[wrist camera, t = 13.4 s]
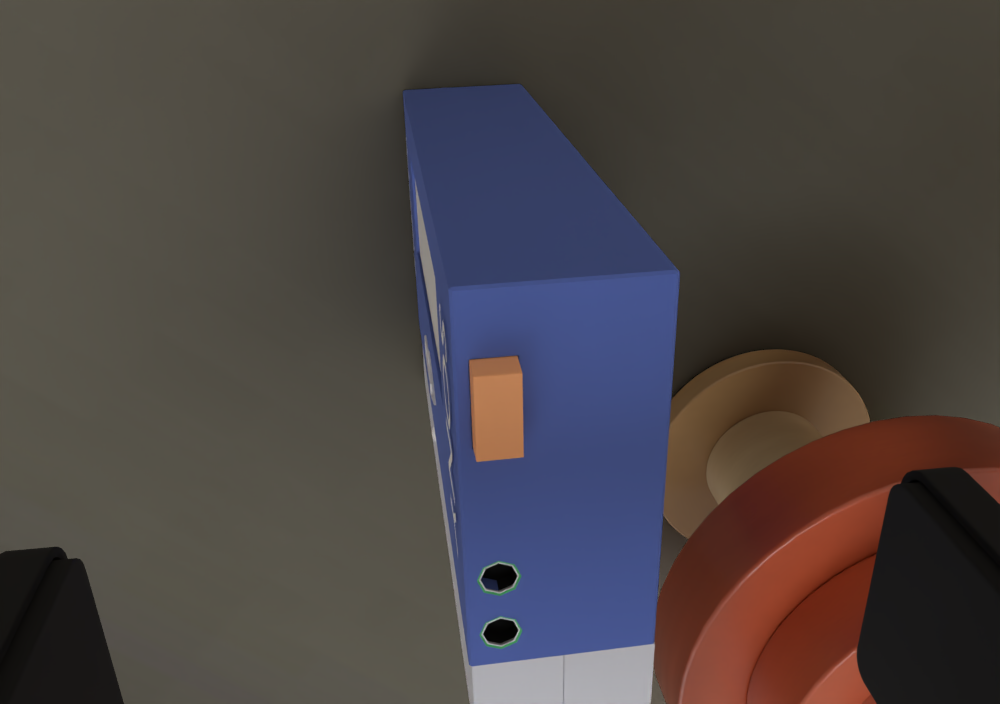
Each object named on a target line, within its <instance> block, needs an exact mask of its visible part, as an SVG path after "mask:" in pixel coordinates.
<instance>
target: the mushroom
mask: <svg viewBox="0 0 1000 704" xmlns="http://www.w3.org/2000/svg"><path fill="white" fill-rule="evenodd" d="M945 467H958V468H962V469H963V470H964V471H966V472H967V473H968V474H969V475H970V476H971V477H972V478H973V479H974V480H975V481H977V482H978V483H979V484H980V485H981V486H982V487H983V488H984V489H985V490H986V491H987V492H988V493H989V494H990V495H991V496H992V497H993V498H994V499H995V500H996V501H997V502H998V503H999V504H1000V427H997V426H995V425H992V424H988V423H984V422H980V421H975V420H971V419H967V418H960V417H949V416H938V415H927V416H904V417H898V418H891V419H885V420H878V421H873V422H870V419H869V414H868V411H867V409H866V406H865V403H864V402H863V400H862V398H861V397H860V395H859V393H858V392H857V391H856V390H855V388H854V387H853V386H852V385H851V384H850V383H849V382H848V381H847V380H846V379H845V378H844V377H843V376H842V375H841V374H840V373H839V372H838V371H837V370H836V369H834V368H833V367H832V366H831V365H829V364H828V363H826V362H824V361H823V360H821V359H819V358H816V357H814V356H811V355H809V354H806V353H802V352H797V351H792V350H782V349H770V350H759V351H752V352H748V353H744V354H740V355H737V356H734V357H731V358H729V359H726V360H724V361H721V362H719V363H717V364H715V365H713V366H712V367H710V368H708V369H706V370H705V371H703V372H702V373H700V374H699V375H697V376H696V377H694V378H693V379H692V380H691V381H690V382H688V383H687V384H686V385H685V386H684V387H683V388H682V389H681V390H680V391H679V392H678V393H677V394H676V395H675V396H674V397H673V398H672V399H671V410H670V425H669V439H668V454H667V468H666V482H665V497H664V511H663V515H664V517H665V518H666V519H667V521H668V522H669V523H670V525H671V526H672V527H673V528H674V529H676V530H677V531H678V532H679V533H680V534H681V535H683V536H684V537H686V538H688V541H687V542H686V544H685V545H684V547H683V548H682V550H681V551H680V553H679V555H678V556H677V558H676V559H675V561H674V563H673V565H672V567H671V569H670V571H669V573H668V575H667V577H666V579H665V582H664V584H663V586H662V589H661V592H660V596H659V599H658V602H657V612H656V626H655V640H654V642H655V649H654V663H653V664H654V669H655V674H656V678H657V680H658V683H659V686H660V688H661V691H662V693H663V696H664V699H665V701H666V704H877V703H876V702H875V700H874V699H873V697H872V695H871V694H870V692H869V690H868V689H867V687H866V686H865V684H864V682H863V680H862V678H861V675H860V672H859V669H858V664H857V647H858V642H859V637H860V632H861V627H862V622H863V617H864V613H865V608H866V603H867V598H868V593H869V588H870V583H871V578H872V574H873V569H874V564H875V559H876V554H877V549H878V544H879V539H880V535H881V530H882V525H883V520H884V515H885V510H886V505H887V501H888V496H889V493H890V490H891V488H892V487H893V486H894V485H896V484H901V481H902V479H903V477H904V476H905V474H906V473H907V472H910V471H912V470H923V469H934V468H945Z"/></svg>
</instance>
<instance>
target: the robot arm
mask: <svg viewBox="0 0 1000 704" xmlns="http://www.w3.org/2000/svg"><path fill="white" fill-rule="evenodd" d="M857 664H858V669H859V672H860V675H861V678H862V680H863V682H864V684H865V686H866V687H867V689H868V690H869V692H870V694H871V695H872V697H873V699H874V700H875V702H876V703H877V704H1000V504H999V503H998V502H997V501H996V500H995V499H994V498H993V497H992V496H991V495H990V494H989V493H988V492H987V491H986V490H985V489H984V488H983V487H982V486H981V485H980V484H979V483H978V482H977V481H975V480H974V479H973V478H972V477H971V476H970V475H969V474H968V473H967V472H966V471H964V470H963V469H962V468H958V467H945V468H934V469H923V470H912V471H910V472H907V473H906V474H905V476H904V477H903V479H902V481H901V484H896V485H894V486H893V487H892V488H891V490H890V493H889V496H888V501H887V505H886V510H885V515H884V520H883V525H882V530H881V535H880V539H879V544H878V549H877V554H876V559H875V564H874V569H873V574H872V578H871V583H870V588H869V593H868V598H867V603H866V608H865V613H864V617H863V622H862V627H861V632H860V637H859V642H858V647H857ZM0 704H124V703H123V699H122V696H121V692H120V689H119V685H118V682H117V678H116V674H115V671H114V667H113V664H112V660H111V657H110V653H109V650H108V646H107V643H106V639H105V636H104V632H103V629H102V625H101V622H100V618H99V615H98V611H97V608H96V604H95V601H94V597H93V594H92V590H91V587H90V583H89V580H88V576H87V573H86V569H85V567H84V564H83V562H82V561H81V560H80V559H77V558H75V559H68V558H67V556H66V553H65V552H64V551H63V550H62V548H59V547H49V548H37V549H26V550H15V551H6V552H3V553H1V554H0Z"/></svg>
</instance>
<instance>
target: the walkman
mask: <svg viewBox="0 0 1000 704" xmlns="http://www.w3.org/2000/svg"><path fill="white" fill-rule="evenodd" d="M403 101H404V115H405V129H406V146H407V160H408V163H407V164H408V172H409V174H408V175H409V177H408V178H409V188H410V191H409V192H410V202H411V214H412V216H411V218H412V229H413V231H412V232H413V233H412V234H413V243H414V244H413V245H414V247H413V248H414V256H415V257H414V258H415V270H416V271H415V272H416V284H417V298H418V312H419V325H420V332H421V339H422V347H423V362H424V376H425V386H426V394H427V401H428V408H429V415H430V422H431V429H432V437H433V444H434V451H435V458H436V465H437V472H438V480H439V487H440V494H441V501H442V508H443V515H444V523H445V530H446V537H447V544H448V551H449V558H450V566H451V573H452V580H453V587H454V594H455V601H456V609H457V616H458V623H459V630H460V637H461V644H462V652H463V659H464V666H465V673H466V680H467V687H468V695H469V702H470V704H651V692H652V678H653V663H654V649H655V642H654V640H655V626H656V612H657V597H658V583H659V568H660V554H661V540H662V525H663V511H664V497H665V482H666V468H667V454H668V439H669V425H670V410H671V396H672V382H673V367H674V353H675V339H676V324H677V310H678V296H679V281H680V272H679V270H678V269H677V268H676V267H675V266H674V265H673V263H672V262H671V261H670V260H669V259H668V257H667V256H666V255H665V254H664V253H663V252H662V250H661V249H660V248H659V247H658V246H657V244H656V243H655V242H654V241H653V240H652V239H651V237H650V236H649V235H648V234H647V233H646V231H645V230H644V229H643V228H642V227H641V226H640V224H639V223H638V222H637V221H636V220H635V218H634V217H633V216H632V215H631V214H630V212H629V211H628V210H627V209H626V208H625V207H624V205H623V204H622V203H621V202H620V201H619V199H618V198H617V197H616V196H615V195H614V194H613V192H612V191H611V190H610V189H609V188H608V186H607V185H606V184H605V183H604V182H603V181H602V179H601V178H600V177H599V176H598V175H597V173H596V172H595V171H594V170H593V169H592V168H591V166H590V165H589V164H588V163H587V162H586V160H585V159H584V158H583V157H582V156H581V155H580V153H579V152H578V151H577V150H576V149H575V147H574V146H573V145H572V144H571V143H570V142H569V140H568V139H567V138H566V137H565V136H564V134H563V133H562V132H561V131H560V130H559V129H558V127H557V126H556V125H555V124H554V123H553V121H552V120H551V119H550V118H549V117H548V116H547V114H546V113H545V112H544V111H543V110H542V108H541V107H540V106H539V105H538V104H537V103H536V101H535V100H534V99H533V98H532V97H531V95H530V94H529V93H528V92H527V91H526V90H525V88H524V87H523V86H522V85H521V84H508V85H489V86H471V87H452V88H433V89H414V90H404V91H403Z"/></svg>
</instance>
